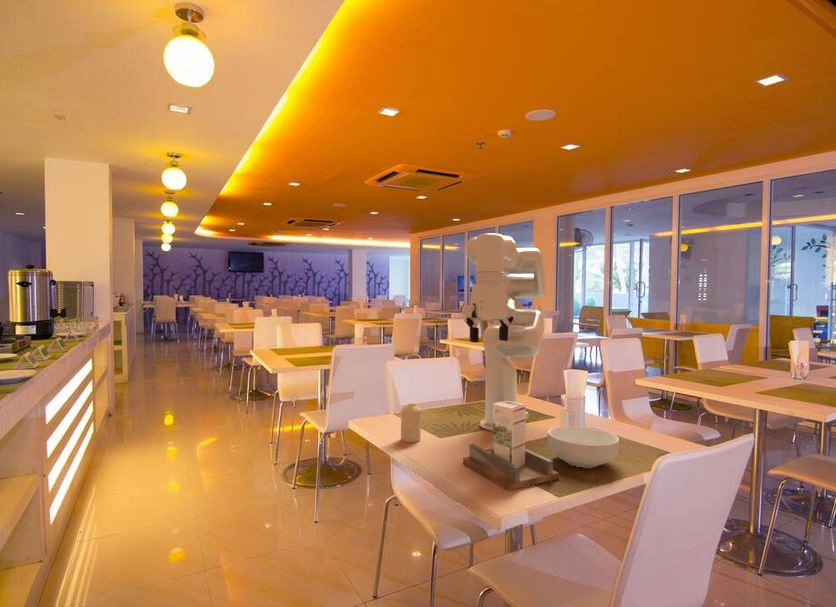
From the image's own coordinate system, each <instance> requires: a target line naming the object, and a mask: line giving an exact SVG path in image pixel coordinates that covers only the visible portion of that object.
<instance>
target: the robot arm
mask: <svg viewBox="0 0 836 607" xmlns="http://www.w3.org/2000/svg"><path fill="white" fill-rule="evenodd" d="M465 252H466V253H465V254H466V257H467V259H468V260H469V262H470V263H471V264H473V265H475V266H476V267H475V283H472V284H473V285H472V288H471V292H470V301H469V306H467V308H465V309H464V310H462V311H461V316H462V318H463V320H464V322H465V323H466V324H467V326H468V328H469V341H470V342H471V343H479V335H480V332H479V331H480V329H479V327H478V326H479V324H480V322H481V321H494V322H493V325H489V326H488V327H486V328H485V330H484V331H483V333H482V343H483V344H482V345H483V350H484V357H485V396H484V398H485V404H484V405H485V407H484V408H485V409H484V411H485V412H484V416H485V418H484V419H481V421H479V425H480V427H481V428H482V429H484V430H488V431H491V432H493V404H495V403H497V402H500V401H511V402H516V403H517V389H518V388H517V384H518V382H517V379H518V375H517V374H518V371H517V368H516V365H515V364H514V363H513V362H512V359H510V357H519V358H532V357H536V356H537V355H538V354H539V352H540V350H541V348H542V347H541V346H542V343H543V342H542V341H543V337H544V334H545V333H544V332H545V319H544V318H545V317H544V315H543V313H542V312H541V311H540V310H538V309H534V308H533V309H531V308H530V309H529V308H526V309H525V307H524V305H523V304H522V303H521V302H520V301H519V300H518V299H541V298H542V297H544V296H545V294H546V293H547V292H546V291H547V280H546V271H545V269H546V268H545V262H544V257H543V254H542V252H541V251H540V248H539V249H538V248H537V247H520V248H519V247H518V246H517V243H516V241H515V240H514V238H512V237H511V236H509V235H502V234H501V233H495V232H494V233H488V232H487V233H481V234H479V235H477V236H473V237H470V238H469V239H468V241H467V243H466V246H465ZM505 273H507V274H505ZM528 418H530V415H529V412H528V411H525V419H528Z"/></svg>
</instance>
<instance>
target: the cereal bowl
mask: <svg viewBox="0 0 836 607" xmlns="http://www.w3.org/2000/svg"><path fill="white" fill-rule="evenodd" d="M547 444H548V447H549V449H550V452H551V453H552V454H553V455H555V457H557V458H558V459H561V460H563V461H564V462H565V463H566V464H567V463H568V464H567V465H569V464H570V465H569V466H571V465H572V466H571V467H574V466H576V468H579V467H583V468H582V469H593V467H594V468H597V467H598V466H601V465H605V464H607V463H610V462H611V461H613V460H614V459H615V458H616V456H617V454H618V453H619V448H620V439H619V437H618V436H617V435H616V434H614V433H612V432H609V431H607V430H603V429H599V428H593V427H588V426H587V427H585V426H573V425H572V426H571V425H570V426H558V427H552V428H549V430H548V431H547ZM596 466H597V467H596Z"/></svg>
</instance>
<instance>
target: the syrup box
mask: <svg viewBox="0 0 836 607" xmlns="http://www.w3.org/2000/svg"><path fill="white" fill-rule="evenodd" d="M525 412H526V404H524V403H520V402H517V401H516V402H511V401H500V402H497V403H495V404H493V431H492V445H491V448H492V450H491V451H492V452H491V453H493V454H495V455H497V456H499V457H501V458H502V459H504V460H506V461H508V462H510V463H512V464H514V465H516V466H518V467H521V466H523V465H525V449H526V418H525Z"/></svg>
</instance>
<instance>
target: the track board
mask: <svg viewBox="0 0 836 607" xmlns="http://www.w3.org/2000/svg"><path fill="white" fill-rule="evenodd" d="M468 449H469V453H468V454H469V456H465V457H463V459H462V464H463V465H464V466H465V467H468V468H470V470H472V471H475V472H476V473H478V474H480V475H481V476H483V477H485V478H487V479H489V480H490V481H491V482H493V483H495V484H496V483H497V485H498V486H500V487H501V486H502V487H501V488H503V487H504V488H503V489H505V488H506V489H508V490H509V491H511V490H510V489H513V490H515V489H514V488H518V489H520V488H519V487H522V488H524V487H523V486H527V485H532V484H536V485H539V484H538V483H541V484H544V483H543V482H545V483H548V482H547V481H550V482H553V481H552V480H554V481H557V480H556V479H559V480H560V472H558V471H556V470H554V461H553V459H550V458H548V457H546V456H543V455H541V454H538V453H536V452H534V451H532V450H530V449H527V448H525V465H523V466H521V467H518V466H516V465H514V464H512V463H510V462H508V461H506V460H504V459H502V458H501V457H499V456H497V455H495V454H493V453H492V452H490V451H489V450H488V449H487V450H486V449H484V448H483V447H480V446H479V445H477V444H474V443H471V444H469V448H468ZM532 486H533V485H532ZM527 487H528V486H527ZM506 489H505V490H506ZM508 490H507V491H508Z"/></svg>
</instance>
